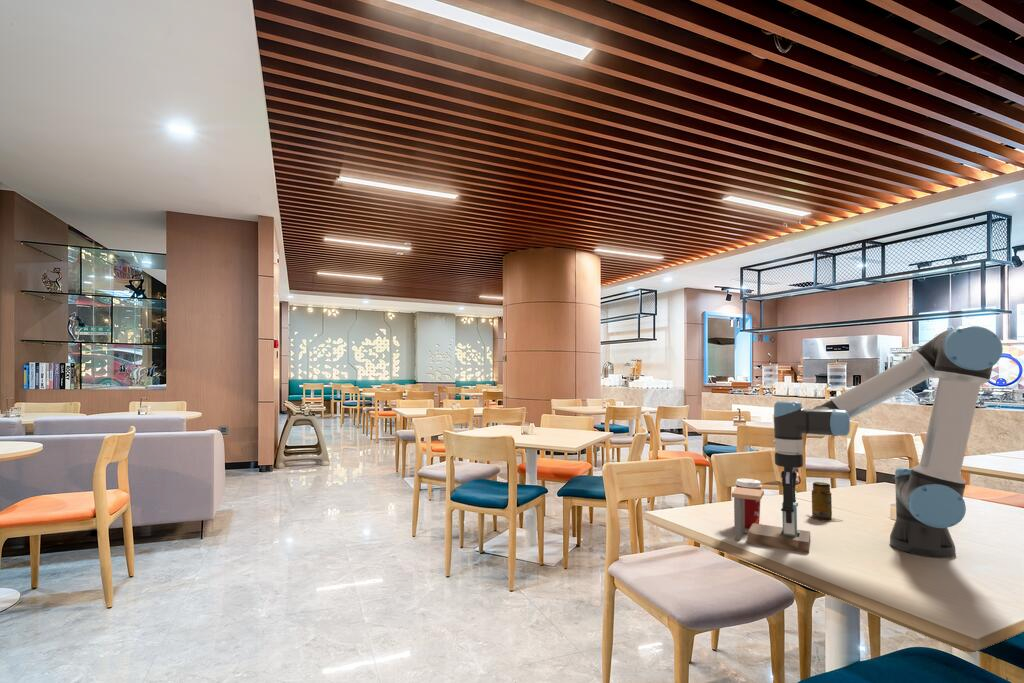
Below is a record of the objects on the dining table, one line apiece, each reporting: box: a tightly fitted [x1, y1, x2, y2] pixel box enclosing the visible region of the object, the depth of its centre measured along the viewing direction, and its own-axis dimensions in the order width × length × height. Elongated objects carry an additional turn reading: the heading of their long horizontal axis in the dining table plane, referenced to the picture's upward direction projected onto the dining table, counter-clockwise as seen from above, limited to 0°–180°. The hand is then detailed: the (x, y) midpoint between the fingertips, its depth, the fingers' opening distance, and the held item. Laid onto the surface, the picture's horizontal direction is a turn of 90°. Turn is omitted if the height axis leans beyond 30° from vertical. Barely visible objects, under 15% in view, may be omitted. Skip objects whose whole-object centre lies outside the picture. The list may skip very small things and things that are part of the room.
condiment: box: [806, 481, 842, 522], centre depth 186 cm, size 7×8×12 cm
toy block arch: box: [731, 487, 765, 541], centre depth 164 cm, size 8×10×14 cm
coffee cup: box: [734, 478, 763, 530], centre depth 176 cm, size 8×8×15 cm
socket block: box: [747, 523, 811, 554], centre depth 159 cm, size 16×12×3 cm
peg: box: [781, 502, 798, 537], centre depth 158 cm, size 4×4×12 cm
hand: (790, 530), depth 158 cm, fingers open, 6 cm apart
